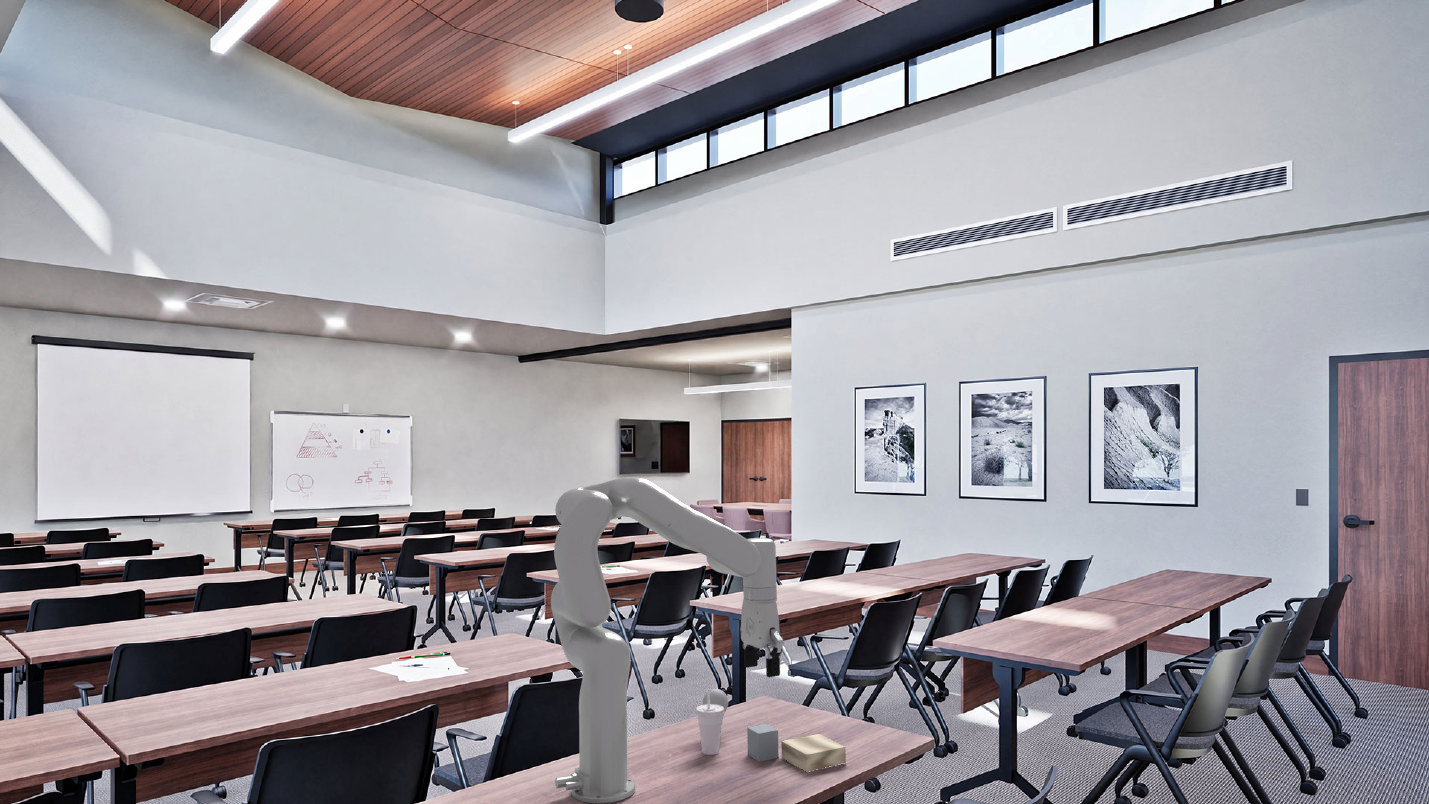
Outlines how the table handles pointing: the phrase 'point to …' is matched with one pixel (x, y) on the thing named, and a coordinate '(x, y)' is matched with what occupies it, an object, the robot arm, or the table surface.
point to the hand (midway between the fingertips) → (761, 671)
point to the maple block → (813, 752)
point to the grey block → (762, 742)
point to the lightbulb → (717, 699)
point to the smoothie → (710, 726)
